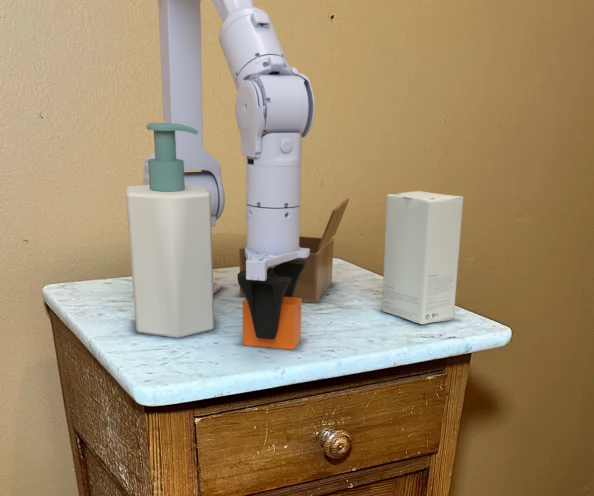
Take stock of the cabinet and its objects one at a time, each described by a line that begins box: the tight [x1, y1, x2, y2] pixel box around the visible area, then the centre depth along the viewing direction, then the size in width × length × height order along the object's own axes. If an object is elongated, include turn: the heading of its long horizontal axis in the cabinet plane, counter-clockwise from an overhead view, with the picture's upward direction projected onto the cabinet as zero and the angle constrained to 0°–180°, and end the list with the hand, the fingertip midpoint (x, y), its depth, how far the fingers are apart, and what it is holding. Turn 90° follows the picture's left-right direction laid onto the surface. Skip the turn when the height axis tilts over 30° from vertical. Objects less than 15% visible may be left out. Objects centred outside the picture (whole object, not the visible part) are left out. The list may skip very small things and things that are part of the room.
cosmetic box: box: [381, 190, 465, 325], centre depth 97 cm, size 8×6×15 cm
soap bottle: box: [125, 122, 215, 339], centre depth 88 cm, size 10×9×22 cm
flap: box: [318, 197, 350, 250], centre depth 105 cm, size 12×5×1 cm
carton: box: [239, 235, 335, 304], centre depth 110 cm, size 12×11×6 cm
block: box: [241, 297, 302, 351], centre depth 88 cm, size 4×6×5 cm, turn 77°
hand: (271, 331), depth 88 cm, fingers open, 5 cm apart
